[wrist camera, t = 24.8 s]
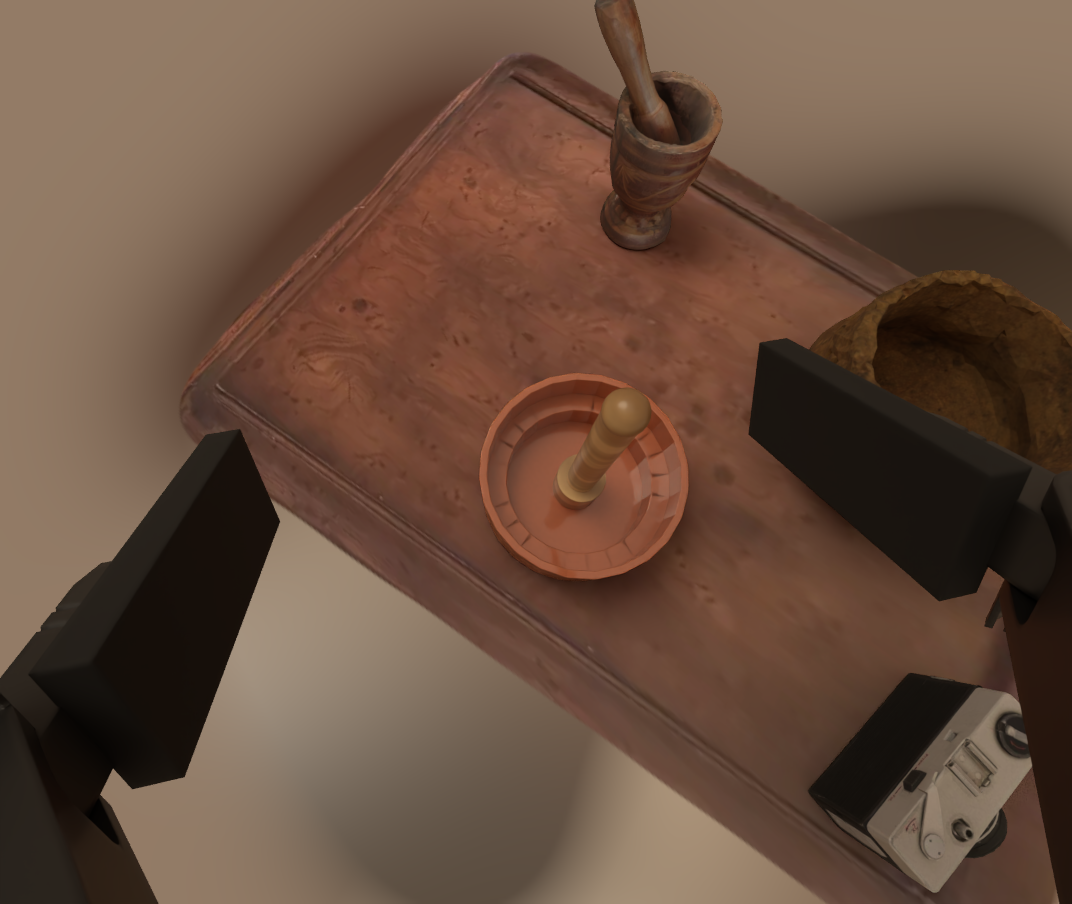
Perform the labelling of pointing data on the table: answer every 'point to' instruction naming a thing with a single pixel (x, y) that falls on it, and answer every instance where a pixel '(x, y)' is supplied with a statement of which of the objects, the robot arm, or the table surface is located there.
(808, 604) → the table surface
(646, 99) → the mortar and pestle
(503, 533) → the mixing bowl
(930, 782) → the camera
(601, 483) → the muddler
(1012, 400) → the bowl
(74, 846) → the robot arm
